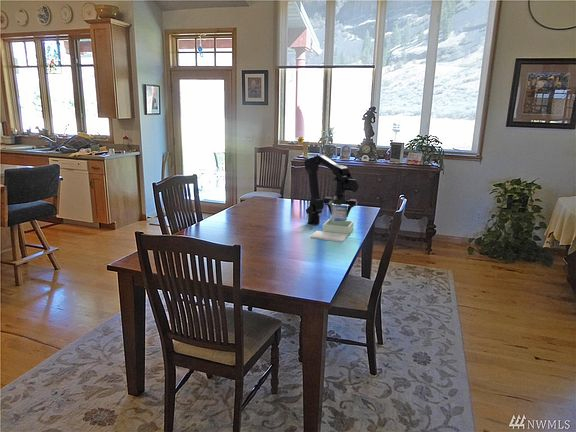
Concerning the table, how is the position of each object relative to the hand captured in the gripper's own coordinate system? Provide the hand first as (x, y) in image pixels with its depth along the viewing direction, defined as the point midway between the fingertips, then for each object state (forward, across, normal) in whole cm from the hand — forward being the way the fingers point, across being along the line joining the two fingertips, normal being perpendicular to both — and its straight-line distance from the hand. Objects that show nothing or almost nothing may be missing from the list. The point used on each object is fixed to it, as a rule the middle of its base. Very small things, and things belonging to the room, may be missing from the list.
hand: (339, 216), depth 233 cm
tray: (+9, -2, -13) cm, 16 cm away
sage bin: (+9, 0, 0) cm, 9 cm away
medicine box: (+2, 0, 0) cm, 2 cm away
